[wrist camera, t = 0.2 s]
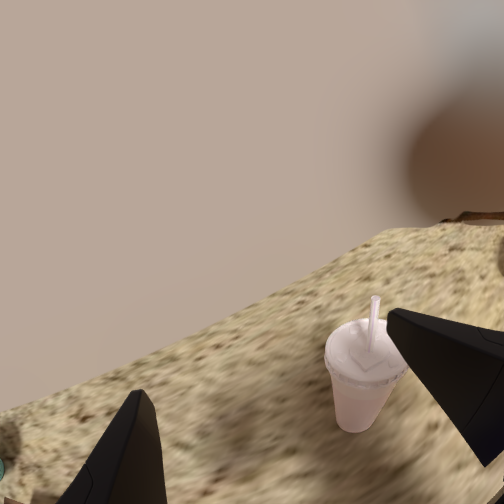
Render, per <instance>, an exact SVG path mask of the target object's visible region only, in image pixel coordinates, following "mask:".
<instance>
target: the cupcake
mask: <svg viewBox="0 0 504 504" xmlns="http://www.w3.org/2000/svg"><path fill="white" fill-rule="evenodd" d="M3 473H4V465H3V462H2V460H1V458H0V480H1V479H2V477H3Z"/></svg>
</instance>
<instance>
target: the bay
mask: <svg viewBox="0 0 504 504" xmlns="http://www.w3.org/2000/svg"><path fill="white" fill-rule="evenodd" d="M4 504H23V503H20V502H17V501H14V500H12V499H9V498H6V497H5V498H4Z"/></svg>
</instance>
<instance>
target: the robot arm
mask: <svg viewBox="0 0 504 504" xmlns="http://www.w3.org/2000/svg"><path fill="white" fill-rule="evenodd" d="M386 331H387V334H388V336H389V337H390V339H391V340H392V342H393V343H394V345H395V346H396V348H397V349H398V351H399V353H400V354H401V356H402V357H403V359H404V360H405V362H406V363H407V364H408V366H409V367H410V368H411V369H412V371H413V372H414V373H415V374H416V376H417V377H418V378H419V379H420V381H421V382H422V383H423V384H424V386H425V387H426V388H427V390H428V391H429V392H430V393H431V395H432V396H433V397H434V399H435V400H436V401H437V402H438V404H439V405H440V406H441V408H442V409H443V410H444V412H445V413H446V414H447V416H448V417H449V418H450V420H451V421H452V422H453V424H454V425H455V427H456V428H457V429H458V431H459V432H460V433H461V435H462V436H463V438H464V439H465V441H466V442H467V443H468V445H469V446H470V448H471V449H472V450H473V452H474V453H475V455H476V456H477V458H478V459H479V461H480V462H481V464H482V465H483V466H484V467H486V466H487V465H489V464H490V463H491V462H492V461H493V460H494V459H495V458H496V457H497V456H498V455H499V454H500V453H501V452H502V451H503V450H504V332H502V331H495V330H490V329H485V328H481V327H476V326H472V325H468V324H463V323H459V322H455V321H451V320H446V319H442V318H438V317H434V316H430V315H426V314H421V313H417V312H413V311H409V310H405V309H401V308H395V309H393V310H391V311H389V313H388V316H387V325H386ZM85 463H86V464H84V465H83V466H82V468H81V470H80V471H79V473H78V474H77V476H76V477H75V479H74V480H73V482H72V483H71V484H70V486H69V487H68V488H67V490H66V491H65V492H64V493H63V495H62V496H61V497H60V498H59V500H58V501H57V502H56V503H55V504H167V497H166V489H165V480H164V470H163V459H162V448H161V441H160V436H159V430H158V425H157V419H156V412H155V407H154V405H153V403H152V401H151V400H150V398H149V397H148V395H147V394H146V392H145V391H144V390H143V389H139V390H133V391H131V392H130V394H129V395H128V397H127V398H126V400H125V401H124V403H123V404H122V406H121V407H120V409H119V410H118V412H117V413H116V415H115V417H114V418H113V420H112V421H111V423H110V424H109V426H108V427H107V429H106V430H105V432H104V433H103V435H102V437H101V438H100V440H99V441H98V443H97V444H96V446H95V447H94V449H93V451H92V452H91V454H90V455H89V457H88V459H87V460H86V462H85ZM503 481H504V478H503ZM487 504H504V486H503V487H502V488H501V489H500V490H499V491H498V493H497V494H496V495H495V496H494V497H493V498H492V499H491V500H490V501H489V502H488V503H487Z"/></svg>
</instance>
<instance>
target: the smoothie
mask: <svg viewBox="0 0 504 504" xmlns="http://www.w3.org/2000/svg"><path fill="white" fill-rule="evenodd" d="M379 306H380V297H379V296H372V297H371V306H370V316H369V318H363V319H357V320H352V321H350V322H347V323H345V324H343V325H341V326H339V327H338V328H336V329H335V330H334V331H333V332H332V333H331V335H330V336H329V338H328V339H327V342H326V346H325V355H324V359H325V365H326V367H327V369H328V371H329V372H330V374H331V380H332V387H333V395H334V404H335V412H336V421H337V424H338V425H339V427H340V428H341V429H343V430H344V431H346V432H350V433H359V432H362V431H365V430H366V429H368V428H369V427H370V426H371V425H372V424H373V422H374V421H375V419H376V417H377V416H378V414H379V413H380V411H381V409H382V408H383V406H384V404H385V403H386V401H387V399H388V397H389V396H390V394H391V392H392V390H393V389H394V387H395V385H396V383H397V381H398V380H399V379H400V378H402V377H403V376H404V375H405V373H406V372H407V370H408V368H409V366H408V364H407V363H406V362H405V360H404V359H403V357H402V356H401V354H400V353H399V351H398V349H397V348H396V346H395V345H394V343H393V342H392V340H391V339H390V337H389V336H388V334H387V331H386V325H387V321H386V320H382V319H378V314H379Z"/></svg>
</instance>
